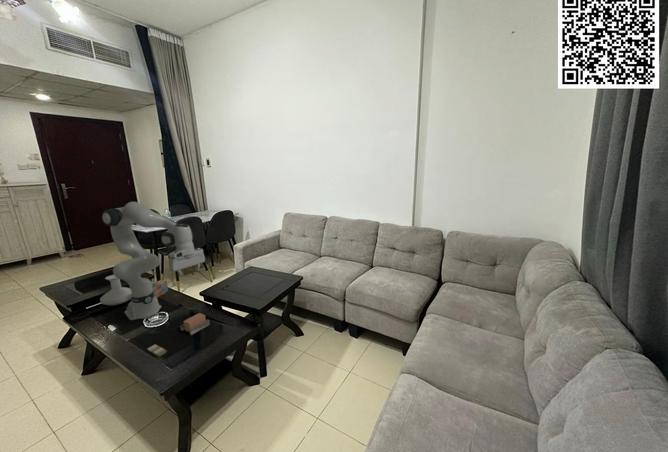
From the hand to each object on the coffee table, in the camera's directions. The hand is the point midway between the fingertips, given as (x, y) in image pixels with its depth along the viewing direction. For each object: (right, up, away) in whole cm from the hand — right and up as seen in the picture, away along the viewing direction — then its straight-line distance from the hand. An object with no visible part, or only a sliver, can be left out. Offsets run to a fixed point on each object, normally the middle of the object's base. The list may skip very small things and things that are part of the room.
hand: (189, 273), depth 156 cm
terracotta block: (+3, -32, +1) cm, 32 cm away
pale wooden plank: (-1, -35, -6) cm, 35 cm away
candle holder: (-72, -27, +37) cm, 86 cm away
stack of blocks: (-50, -26, +42) cm, 70 cm away
